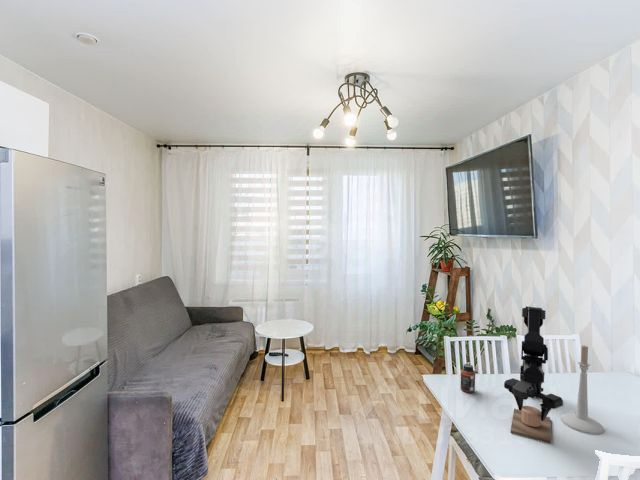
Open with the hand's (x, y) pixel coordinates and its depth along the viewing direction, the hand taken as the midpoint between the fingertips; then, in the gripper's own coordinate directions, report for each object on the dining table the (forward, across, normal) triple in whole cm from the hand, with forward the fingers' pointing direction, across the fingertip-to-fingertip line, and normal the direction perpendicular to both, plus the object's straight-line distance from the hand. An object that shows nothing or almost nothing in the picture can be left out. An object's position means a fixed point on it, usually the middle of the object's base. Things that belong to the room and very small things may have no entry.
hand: (531, 415), depth 132 cm
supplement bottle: (+4, -31, +3) cm, 31 cm away
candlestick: (+4, +8, +18) cm, 20 cm away
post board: (+4, 0, 0) cm, 4 cm away
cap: (+2, 0, 0) cm, 2 cm away
